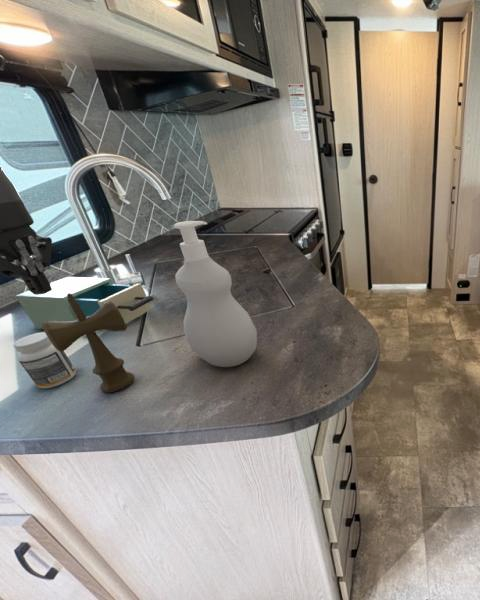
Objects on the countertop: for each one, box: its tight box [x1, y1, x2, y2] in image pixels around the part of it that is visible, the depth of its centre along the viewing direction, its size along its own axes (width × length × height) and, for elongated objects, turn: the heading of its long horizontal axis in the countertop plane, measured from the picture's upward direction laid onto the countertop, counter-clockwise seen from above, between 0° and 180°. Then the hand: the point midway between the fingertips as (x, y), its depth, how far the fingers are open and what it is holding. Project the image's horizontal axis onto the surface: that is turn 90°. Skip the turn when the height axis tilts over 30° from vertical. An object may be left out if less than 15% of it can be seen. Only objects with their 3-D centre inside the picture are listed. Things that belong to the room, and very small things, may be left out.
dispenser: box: [15, 276, 114, 330], centre depth 83 cm, size 14×12×10 cm
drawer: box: [67, 282, 154, 325], centre depth 82 cm, size 17×11×8 cm, turn 82°
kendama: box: [42, 293, 135, 393], centre depth 57 cm, size 6×10×20 cm, turn 143°
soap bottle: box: [173, 220, 258, 368], centre depth 62 cm, size 17×12×29 cm
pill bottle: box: [12, 331, 77, 389], centre depth 61 cm, size 6×6×10 cm
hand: (43, 292), depth 61 cm, fingers closed
